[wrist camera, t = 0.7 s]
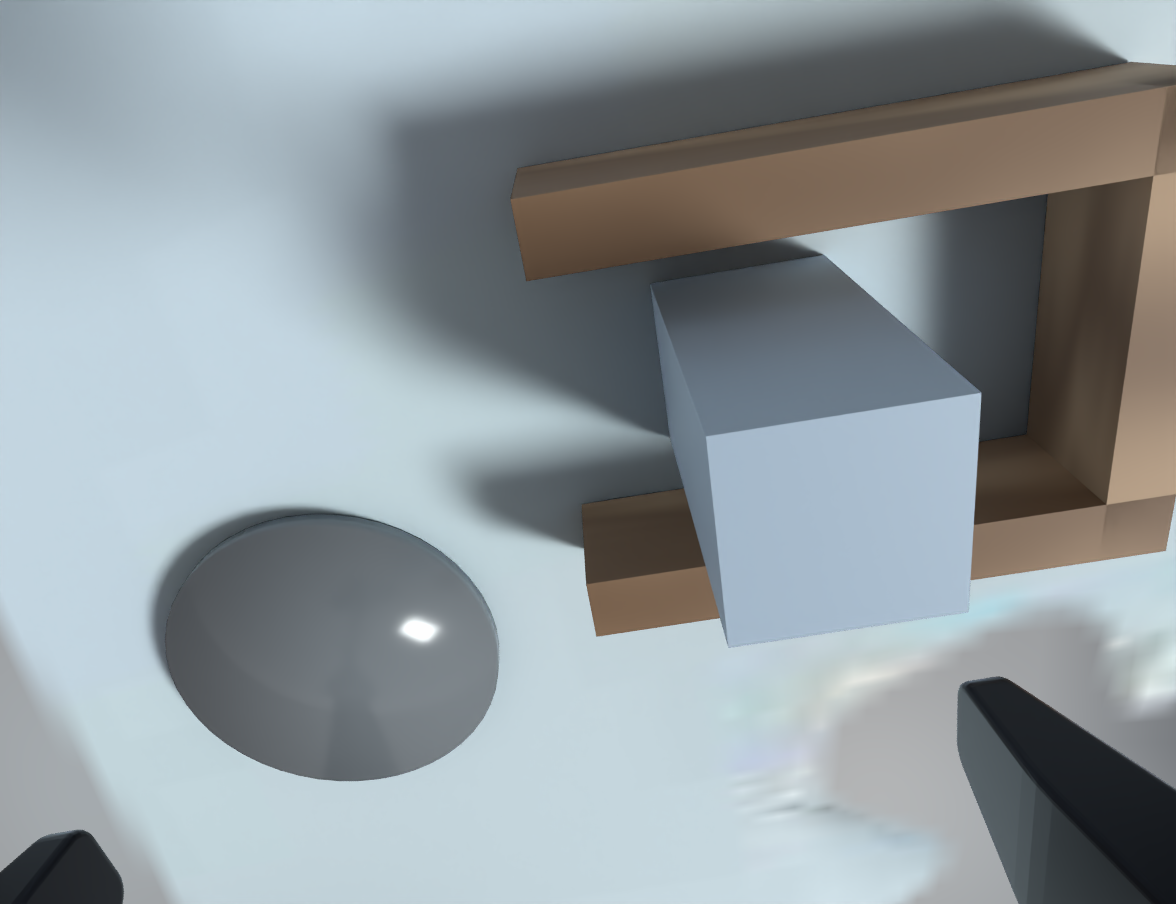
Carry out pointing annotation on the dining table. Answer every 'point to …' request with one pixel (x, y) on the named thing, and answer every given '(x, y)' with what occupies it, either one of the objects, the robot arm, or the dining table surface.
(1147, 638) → the dining table surface
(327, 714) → the coaster
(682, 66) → the dining table surface
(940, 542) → the block
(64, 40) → the dining table surface
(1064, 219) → the frame
